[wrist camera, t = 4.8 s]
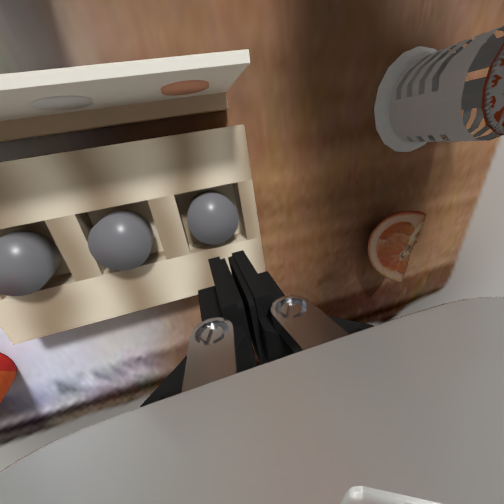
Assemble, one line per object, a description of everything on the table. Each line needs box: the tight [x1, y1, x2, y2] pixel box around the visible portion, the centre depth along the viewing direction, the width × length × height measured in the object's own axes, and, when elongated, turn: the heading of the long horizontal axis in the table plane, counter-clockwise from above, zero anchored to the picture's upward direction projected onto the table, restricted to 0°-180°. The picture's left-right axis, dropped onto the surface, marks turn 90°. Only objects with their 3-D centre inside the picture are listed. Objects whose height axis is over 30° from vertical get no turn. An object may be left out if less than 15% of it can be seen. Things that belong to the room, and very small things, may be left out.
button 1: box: [0, 230, 62, 296], centre depth 19 cm, size 4×4×2 cm
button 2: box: [187, 190, 239, 245], centre depth 23 cm, size 4×4×2 cm
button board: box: [0, 124, 265, 345], centre depth 22 cm, size 23×14×4 cm, turn 99°
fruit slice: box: [368, 211, 426, 283], centre depth 30 cm, size 8×7×5 cm
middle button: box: [88, 210, 154, 271], centre depth 21 cm, size 4×4×2 cm
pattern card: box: [0, 49, 250, 142], centre depth 16 cm, size 22×3×9 cm, turn 99°
